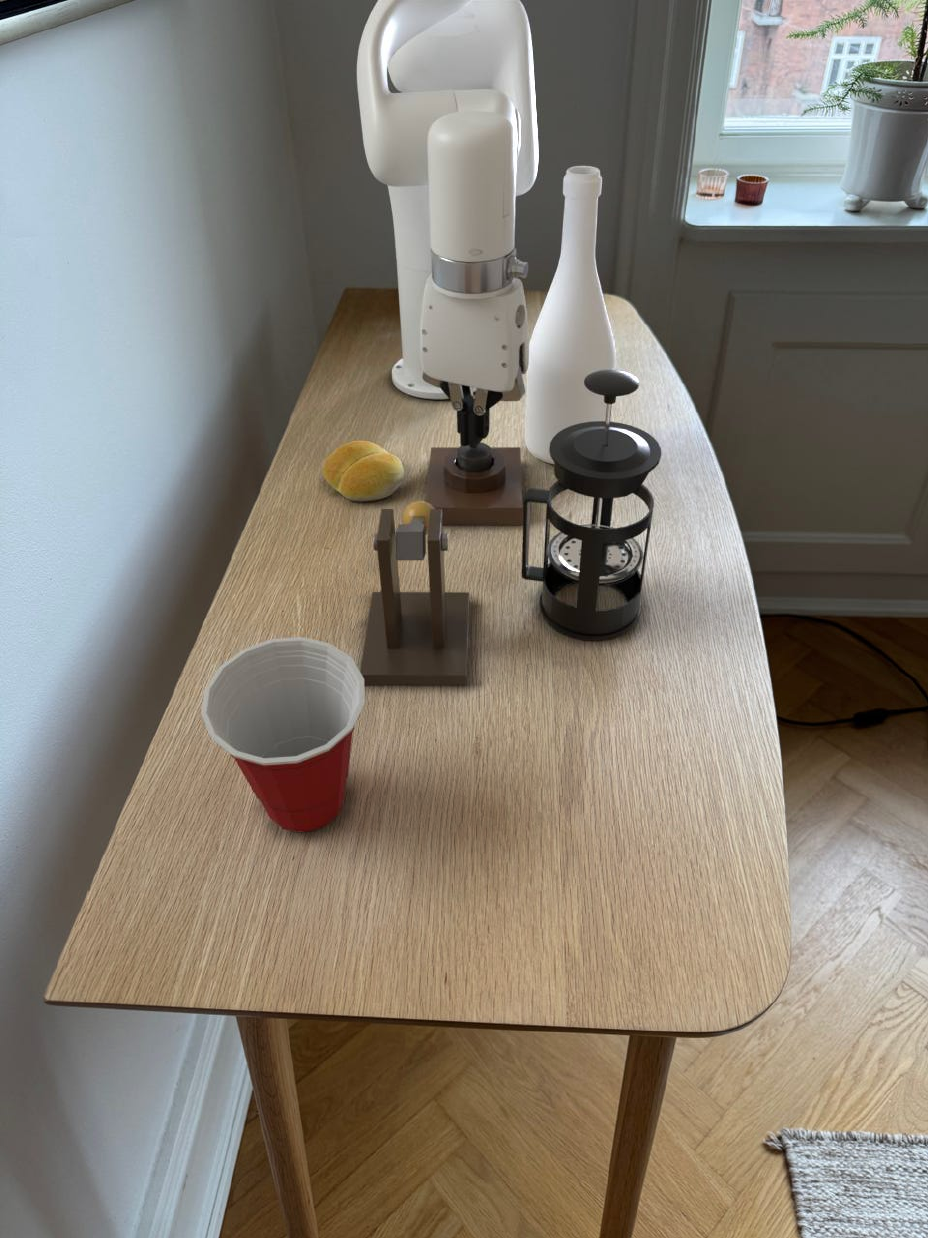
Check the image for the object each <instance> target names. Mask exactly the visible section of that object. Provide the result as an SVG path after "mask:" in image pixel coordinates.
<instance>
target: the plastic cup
mask: <svg viewBox="0 0 928 1238" xmlns="http://www.w3.org/2000/svg"><path fill="white" fill-rule="evenodd" d="M202 697H203V698H202V704H201V710H200V711H201V712H200V716H201V717H202V720H203V722H204V725H205V727H206V729H207V732H208V734H209V735H208V736H209V738H211V740H212V741H214V742H215V743H216V744H218V746H220V747H221V748H222V749H223V750H225V751H226V752H227V753H228V754H229V755H230V757H231V758H233V759H234V761H235V762H236V764H237V765H238V767H239V769H240V771H241V773H242V774H243V776H244V778H245V780H246V781H247V783H248V785H249V786H250V788H251V790H252V792H253V793H254V795H255V797H256V798H257V799H258V800H259V801H260V803H261V804H262V807H263V808H264V810H265V812H266V815H267V816H268V817H269V818H270V819H271V820H272V822H274V823H275V824H277V825H278V827H280V828H281V829H283V830H287V831H290V832H294V833H305V832H314V831H316V830H318V829H321V828H323V827H325V826H327V825H328V824H329V823H330V822H331V821H333V820H334V819H335V818H336V817H337V816H338V814H339V813H340V810H342V809H341V808H342V807H343V806H344V805H343V804H344V802H345V800H346V788H347V779H348V777H349V771H350V769H349V768H350V761H351V760H350V758H351V750H352V749H351V748H352V741H353V732H354V730H355V725H356V723H357V721H358V719H359V717H360V715H361V713H362V711H363V709H364V706H365V685H364V678H363V676H362V674H361V673H360V669H359V668H358V666H357V664H356V662H355V660H354V659H353V658H352V657H351V656H350V655H348V654H347V653H345V652H343V651H342V650H340V649H339V648H337V647H336V646H335V645H333V644H331V643H329V642H325V641H321V640H316V639H313V638H308V637H304V636H298V637H281V638H271V639H268V640H265V641H262V642H259V643H256V644H254V645H251V646H248V647H245V648H243V649H241V650H240V651H239V652H236V654H234V656H232V657H230V658H229V659H228V660H227V661H225V662H223V663H222V664H221V665H219V667H218V668H217V670H216V671H215V673H214V674H213V675H212V677H211V679H210V680H209V681H208V683H207V685H206V686H205V688H204V689H203V696H202Z"/></svg>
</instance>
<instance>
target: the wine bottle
mask: <svg viewBox="0 0 928 1238" xmlns="http://www.w3.org/2000/svg"><path fill="white" fill-rule="evenodd" d="M565 173H566V174H565V175H564V176H563V182H562V185H563V186H562V195H563V196H564V206H563V220H562V232H561V233H562V234H561V248H560V256H559V260H558V263H557V268H556V271H555V272H554V275H553V278H552V281H551V284H550V287H549V289H548V292H547V294H546V297H545V300H544V303H543V305H542V308H541V310H540V313H539V316H538V318H537V321H536V323H535V325H534V328H533V331H532V334H531V337H530V339H529V365H528V369H527V372H526V381H525V383H526V384H525V413H524V442H525V445H526V448H527V450H528V452H530V454H531V455H533V457H535V458H536V459H538V460H540V461H541V462H545V463H548V464H551V465H554V461H553V460H552V458H551V456H550V452H549V448H550V442H551V440H552V438H553V437H554V436H555V435H556V434H557V433H558V432H560V431H561V430H563V429H565V428H567V427H569V426H572V425H576V424H579V423H585V422H593V421H605V420H606V410H607V404H606V403H605V402H604V396H603V395H599V394H596V393H593V392H591V391H590V390H588V389H587V388H586V387H585V385H584V380H585V378H586V376H588V375H589V374H591V373H593V372H596V371H600V370H616V359H617V352H616V350H617V349H616V345H615V339H614V334H613V330H612V326H611V322H610V318H609V314H608V311H607V307H606V303H605V298H604V294H603V290H602V285H601V282H600V277H599V274H598V269H597V261H596V243H597V226H598V225H597V224H598V204H599V197H600V196H601V195H602V186H603V185H602V184H603V177H602V175H601V170H600V169H599V168H598V167H596V166H591V165H574V166H571V167H568V168H567V170H566V171H565Z"/></svg>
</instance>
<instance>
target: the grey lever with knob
mask: <svg viewBox="0 0 928 1238" xmlns="http://www.w3.org/2000/svg"><path fill="white" fill-rule="evenodd" d="M430 509H435V508H434V507H433V506H432V505H431V504H429V503H428V502H426V500H416V501H413V502H411V503H409V504H408V505H407V506H406V507H405V509H404V511H403V514H402V522H403V523H402V524H398V525H397V528H396V529H395V535H396V560H398V561H424V560H425V557H426V554H427V537H426V536H428V527H429V516H430Z"/></svg>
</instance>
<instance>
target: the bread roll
mask: <svg viewBox="0 0 928 1238" xmlns="http://www.w3.org/2000/svg"><path fill="white" fill-rule="evenodd" d="M404 470H405V469H404V466H403V463H402V460H401V459H400V458H399V457H398V456H396V455H394V454H392V453H390V452H387V451H386V450H385V449H384V448H383V447H382V446H380V445H378V444H376V443H374V442H372V441H368V440H352V441H350V442H346V443H344V444H342V445H340V446H338V447H337V448H336V449H335V450H334V451H333V452H331V453H330V454H329V455H328V457H327V458H326V460H325V462H324V463H323V467H322V475H323V477H324V479H325V482H327V484H328V485H329V486H330V487H331V488H332V489H333V490H335V491H336V492H338V493H340V495H341V496H343V497H344V498H346V499H347V500H349V501H353V502H369V501H378V500H382V499H385V498H388V497H390V496H391V495H393V494H394V493H395V492H397V491H398V490H399V488H400V487H401V485H402V484H403V481H404V478H405V471H404Z"/></svg>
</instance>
